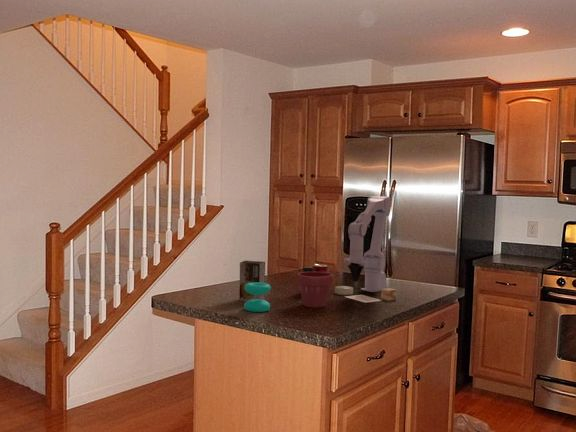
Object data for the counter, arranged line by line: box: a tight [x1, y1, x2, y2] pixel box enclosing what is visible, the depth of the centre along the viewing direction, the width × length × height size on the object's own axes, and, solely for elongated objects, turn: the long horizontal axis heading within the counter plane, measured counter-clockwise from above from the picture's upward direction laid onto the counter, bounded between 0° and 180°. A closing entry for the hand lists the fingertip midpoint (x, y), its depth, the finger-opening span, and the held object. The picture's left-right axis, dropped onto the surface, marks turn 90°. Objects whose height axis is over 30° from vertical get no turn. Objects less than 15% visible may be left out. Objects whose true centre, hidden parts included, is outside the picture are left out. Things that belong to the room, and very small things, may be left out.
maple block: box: [380, 287, 397, 302], centre depth 248 cm, size 4×4×4 cm
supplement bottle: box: [299, 266, 314, 295], centre depth 255 cm, size 7×7×12 cm
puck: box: [334, 285, 354, 296], centre depth 258 cm, size 8×8×3 cm
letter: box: [344, 294, 384, 304], centre depth 248 cm, size 10×14×1 cm
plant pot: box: [297, 271, 334, 308], centre depth 232 cm, size 14×14×13 cm
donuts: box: [243, 282, 272, 313], centre depth 220 cm, size 10×10×10 cm
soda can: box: [311, 263, 329, 273], centre depth 262 cm, size 7×7×12 cm
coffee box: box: [238, 260, 266, 302], centre depth 237 cm, size 9×6×16 cm
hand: (355, 281), depth 252 cm, fingers closed
